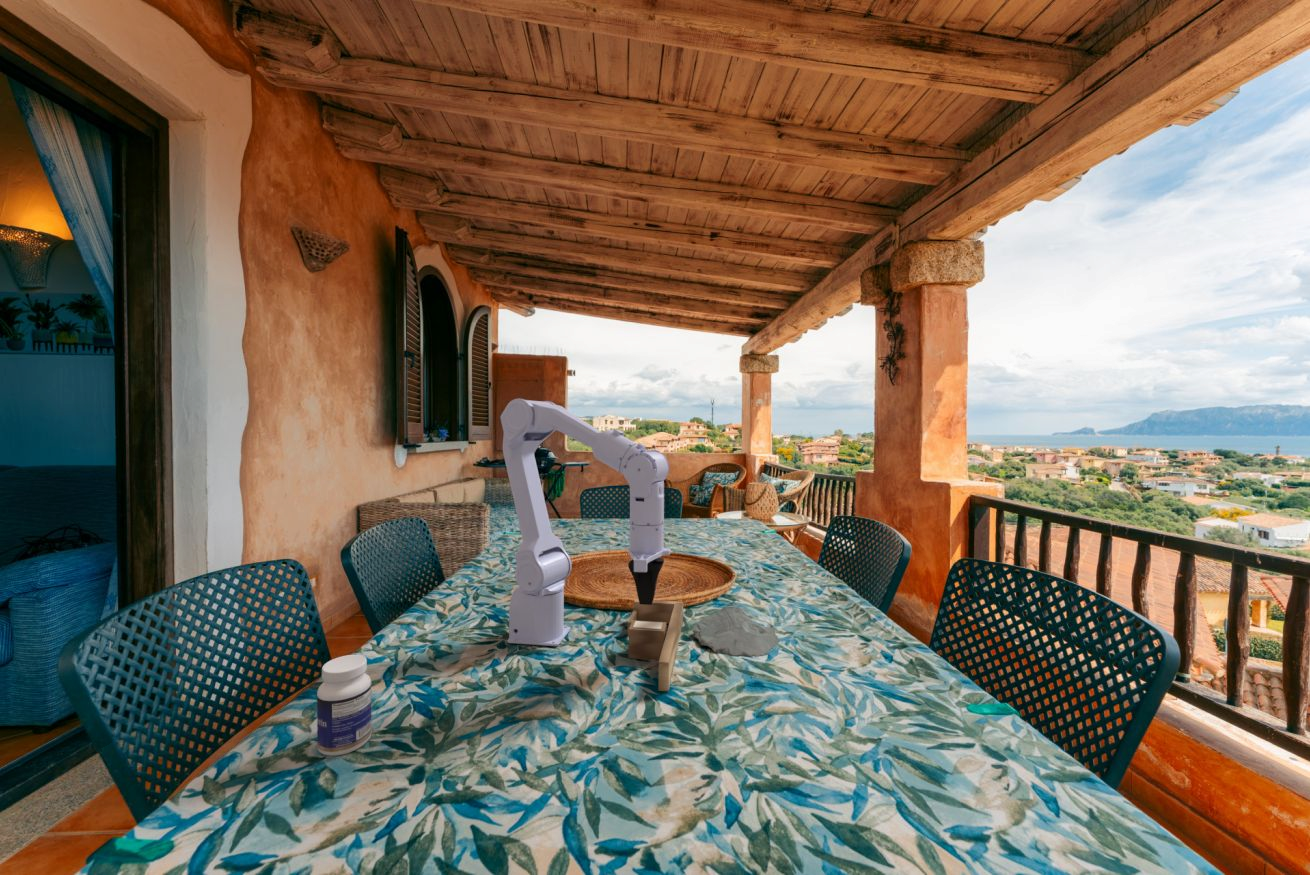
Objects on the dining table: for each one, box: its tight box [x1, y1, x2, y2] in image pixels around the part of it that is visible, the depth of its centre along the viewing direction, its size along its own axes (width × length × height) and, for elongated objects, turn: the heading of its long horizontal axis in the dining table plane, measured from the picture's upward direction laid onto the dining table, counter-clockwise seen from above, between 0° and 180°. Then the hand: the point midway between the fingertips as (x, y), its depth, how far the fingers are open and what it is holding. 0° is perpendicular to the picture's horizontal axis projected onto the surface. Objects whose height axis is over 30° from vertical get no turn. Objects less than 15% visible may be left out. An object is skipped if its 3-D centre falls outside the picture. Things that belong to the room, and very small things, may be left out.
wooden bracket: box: [626, 598, 684, 692], centre depth 89 cm, size 10×28×4 cm, turn 172°
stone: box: [692, 605, 779, 658], centre depth 94 cm, size 16×4×15 cm
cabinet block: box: [628, 620, 667, 661], centre depth 88 cm, size 6×4×5 cm, turn 83°
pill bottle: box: [316, 654, 373, 757], centre depth 62 cm, size 6×6×10 cm
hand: (646, 603), depth 85 cm, fingers closed
